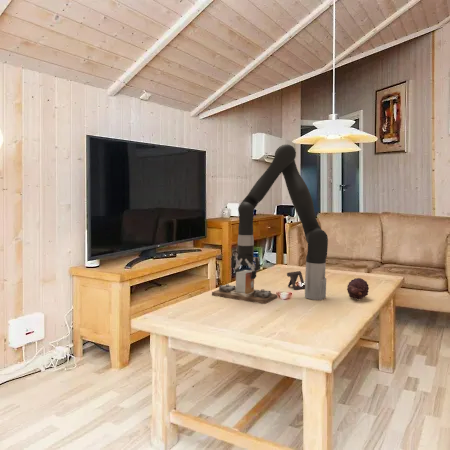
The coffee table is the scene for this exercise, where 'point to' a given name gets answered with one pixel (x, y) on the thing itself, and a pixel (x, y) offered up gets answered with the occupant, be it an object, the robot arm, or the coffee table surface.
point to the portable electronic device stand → (293, 279)
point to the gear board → (254, 296)
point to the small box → (244, 282)
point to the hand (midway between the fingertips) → (245, 277)
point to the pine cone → (358, 288)
